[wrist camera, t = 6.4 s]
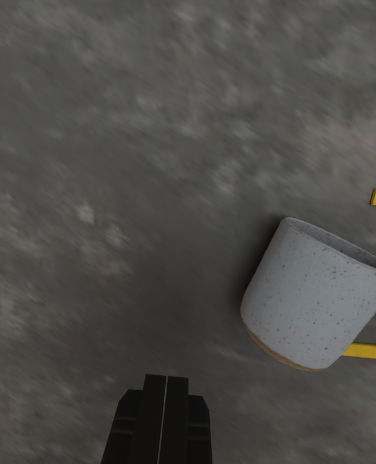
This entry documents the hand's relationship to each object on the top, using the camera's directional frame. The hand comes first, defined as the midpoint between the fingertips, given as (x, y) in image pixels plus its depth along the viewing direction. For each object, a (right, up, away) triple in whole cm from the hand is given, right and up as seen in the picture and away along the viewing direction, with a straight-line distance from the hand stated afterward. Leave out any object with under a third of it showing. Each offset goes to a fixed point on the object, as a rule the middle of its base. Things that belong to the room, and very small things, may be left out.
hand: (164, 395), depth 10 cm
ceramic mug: (+10, +3, +13) cm, 17 cm away
